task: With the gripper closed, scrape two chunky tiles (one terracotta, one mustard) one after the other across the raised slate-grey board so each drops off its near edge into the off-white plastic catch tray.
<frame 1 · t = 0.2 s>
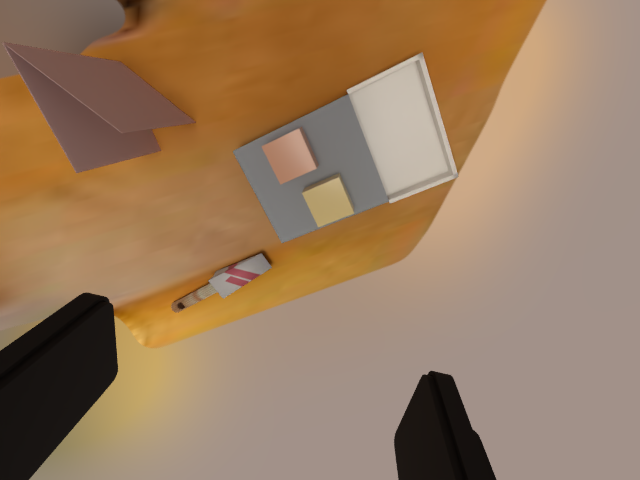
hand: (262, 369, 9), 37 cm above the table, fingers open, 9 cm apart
catch tray: (401, 133, 41), on the table
tile mustard: (329, 197, 42), point 3 cm above the table, touching slate board
tile terracotta: (292, 154, 40), point 3 cm above the table, touching slate board
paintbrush: (221, 280, 53), on the table
greeting card: (160, 102, 42), on the table
slate board: (314, 171, 44), on the table
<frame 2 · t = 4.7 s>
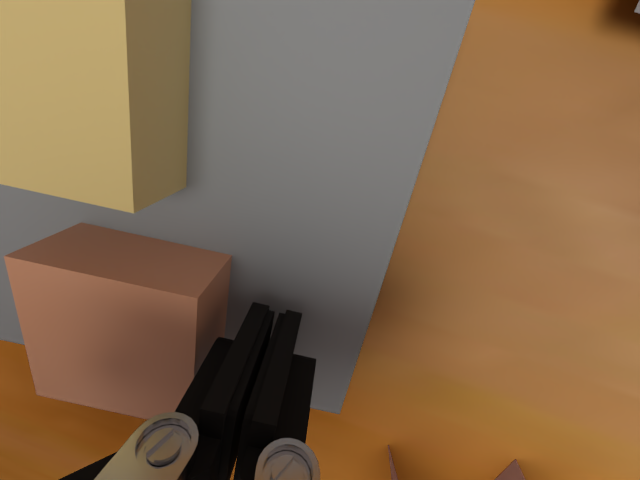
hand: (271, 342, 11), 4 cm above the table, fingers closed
tile mustard: (97, 77, 8), point 3 cm above the table, touching slate board
tile terracotta: (157, 301, 11), point 3 cm above the table, touching gripper, slate board
slate board: (184, 185, 13), on the table
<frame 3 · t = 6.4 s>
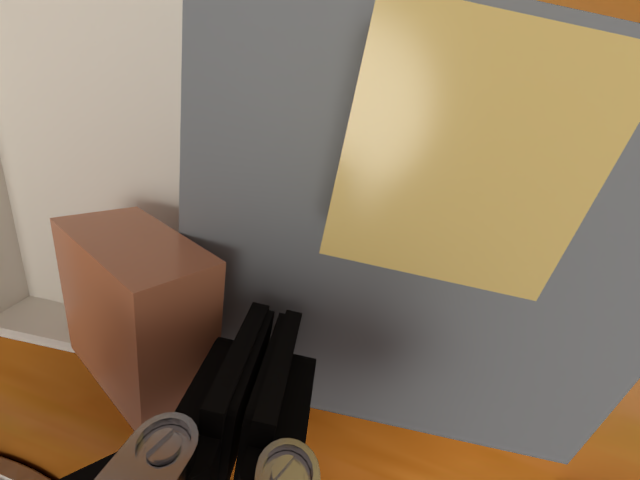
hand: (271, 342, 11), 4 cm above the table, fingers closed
catch tray: (106, 167, 13), on the table
tile mustard: (437, 150, 8), point 3 cm above the table, touching slate board
tile terracotta: (176, 295, 11), point 3 cm above the table, tilted 32°, touching slate board
slate board: (412, 234, 13), on the table
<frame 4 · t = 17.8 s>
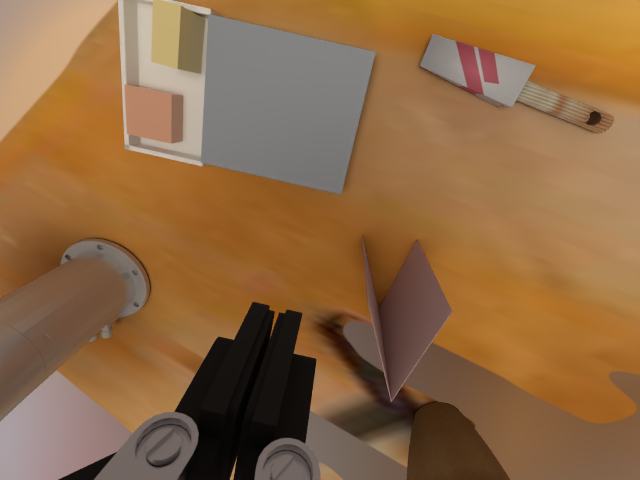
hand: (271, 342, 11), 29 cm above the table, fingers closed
plant pot: (438, 417, 51), on the table
catch tray: (176, 86, 35), on the table
tile mustard: (192, 43, 31), point 3 cm above the table, tilted 90°, touching catch tray
tile terracotta: (148, 114, 34), point 3 cm above the table, tilted 180°, touching catch tray
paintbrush: (510, 89, 33), on the table
greeting card: (376, 268, 42), on the table
slate board: (286, 111, 35), on the table
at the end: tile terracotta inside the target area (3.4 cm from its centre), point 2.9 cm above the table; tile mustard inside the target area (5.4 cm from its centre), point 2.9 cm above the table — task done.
